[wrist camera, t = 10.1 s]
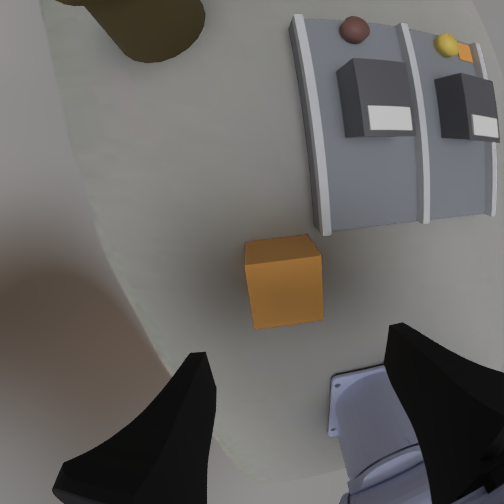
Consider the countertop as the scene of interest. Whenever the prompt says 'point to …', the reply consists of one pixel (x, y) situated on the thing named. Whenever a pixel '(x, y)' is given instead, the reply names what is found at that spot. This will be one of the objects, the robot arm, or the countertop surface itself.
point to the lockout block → (284, 281)
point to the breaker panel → (388, 148)
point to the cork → (148, 25)
